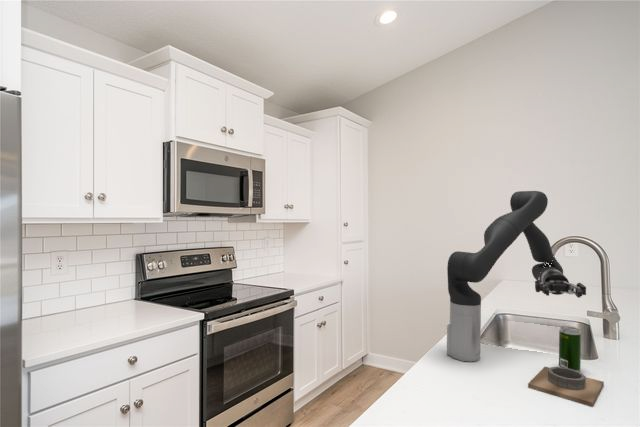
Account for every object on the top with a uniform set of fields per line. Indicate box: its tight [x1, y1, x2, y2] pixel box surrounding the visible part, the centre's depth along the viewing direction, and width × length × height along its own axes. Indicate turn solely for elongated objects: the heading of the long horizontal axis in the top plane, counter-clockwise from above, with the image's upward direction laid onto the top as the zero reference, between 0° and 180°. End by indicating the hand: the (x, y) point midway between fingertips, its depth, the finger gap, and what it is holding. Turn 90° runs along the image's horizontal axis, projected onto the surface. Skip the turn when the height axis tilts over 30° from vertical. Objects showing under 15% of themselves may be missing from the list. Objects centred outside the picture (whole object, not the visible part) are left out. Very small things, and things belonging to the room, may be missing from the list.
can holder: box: [527, 366, 605, 408], centre depth 101 cm, size 14×16×4 cm
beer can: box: [558, 325, 582, 372], centre depth 113 cm, size 5×5×12 cm
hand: (563, 293), depth 122 cm, fingers open, 8 cm apart
